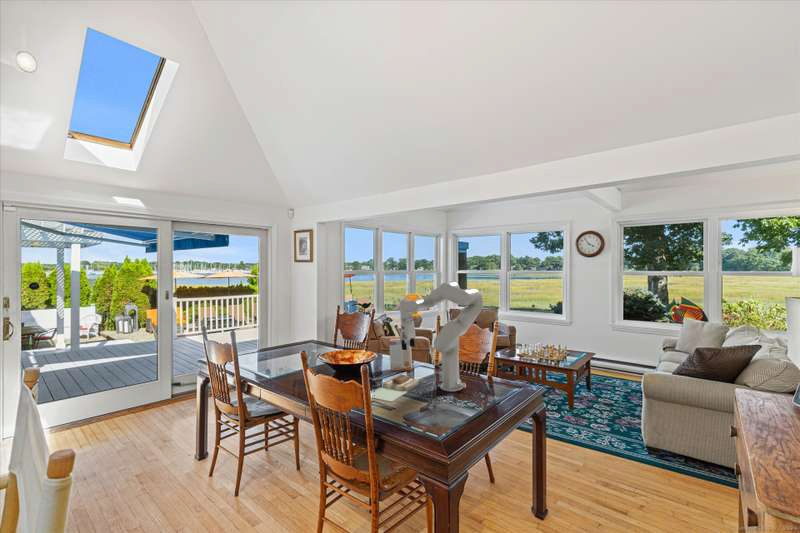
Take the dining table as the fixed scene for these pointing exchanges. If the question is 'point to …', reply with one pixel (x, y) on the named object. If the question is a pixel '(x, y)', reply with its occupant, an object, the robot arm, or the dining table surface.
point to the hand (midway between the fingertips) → (408, 348)
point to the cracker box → (400, 356)
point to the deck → (402, 387)
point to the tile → (400, 379)
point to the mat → (387, 394)
